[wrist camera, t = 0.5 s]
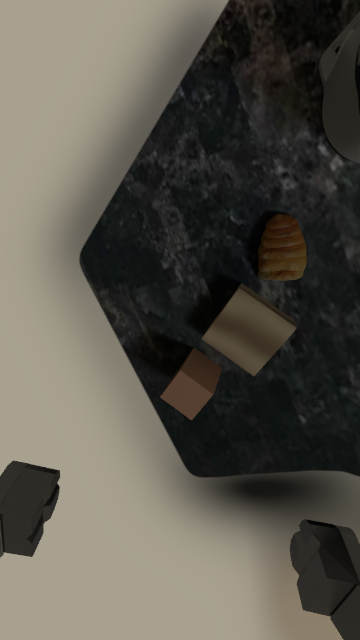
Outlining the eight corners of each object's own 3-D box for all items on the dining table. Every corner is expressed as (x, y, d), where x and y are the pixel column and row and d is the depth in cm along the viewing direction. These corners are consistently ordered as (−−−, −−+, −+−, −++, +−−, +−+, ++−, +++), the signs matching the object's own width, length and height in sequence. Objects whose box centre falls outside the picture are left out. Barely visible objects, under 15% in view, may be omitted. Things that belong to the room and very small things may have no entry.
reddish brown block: (193, 347, 53) (180, 370, 44) (222, 367, 52) (213, 394, 44) (176, 371, 55) (160, 397, 47) (203, 390, 55) (191, 420, 46)
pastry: (257, 216, 44) (256, 215, 41) (307, 211, 42) (310, 210, 39) (258, 280, 47) (257, 284, 43) (305, 278, 45) (308, 282, 41)
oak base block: (241, 283, 47) (239, 287, 44) (294, 320, 47) (296, 328, 43) (206, 330, 51) (201, 338, 47) (255, 365, 51) (253, 376, 47)
